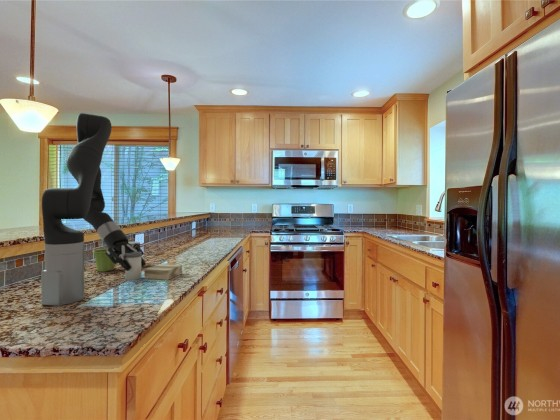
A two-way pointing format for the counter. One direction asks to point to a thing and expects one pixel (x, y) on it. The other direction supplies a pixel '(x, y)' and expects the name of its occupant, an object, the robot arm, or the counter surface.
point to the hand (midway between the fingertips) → (136, 267)
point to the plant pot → (103, 260)
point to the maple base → (163, 271)
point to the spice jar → (133, 265)
